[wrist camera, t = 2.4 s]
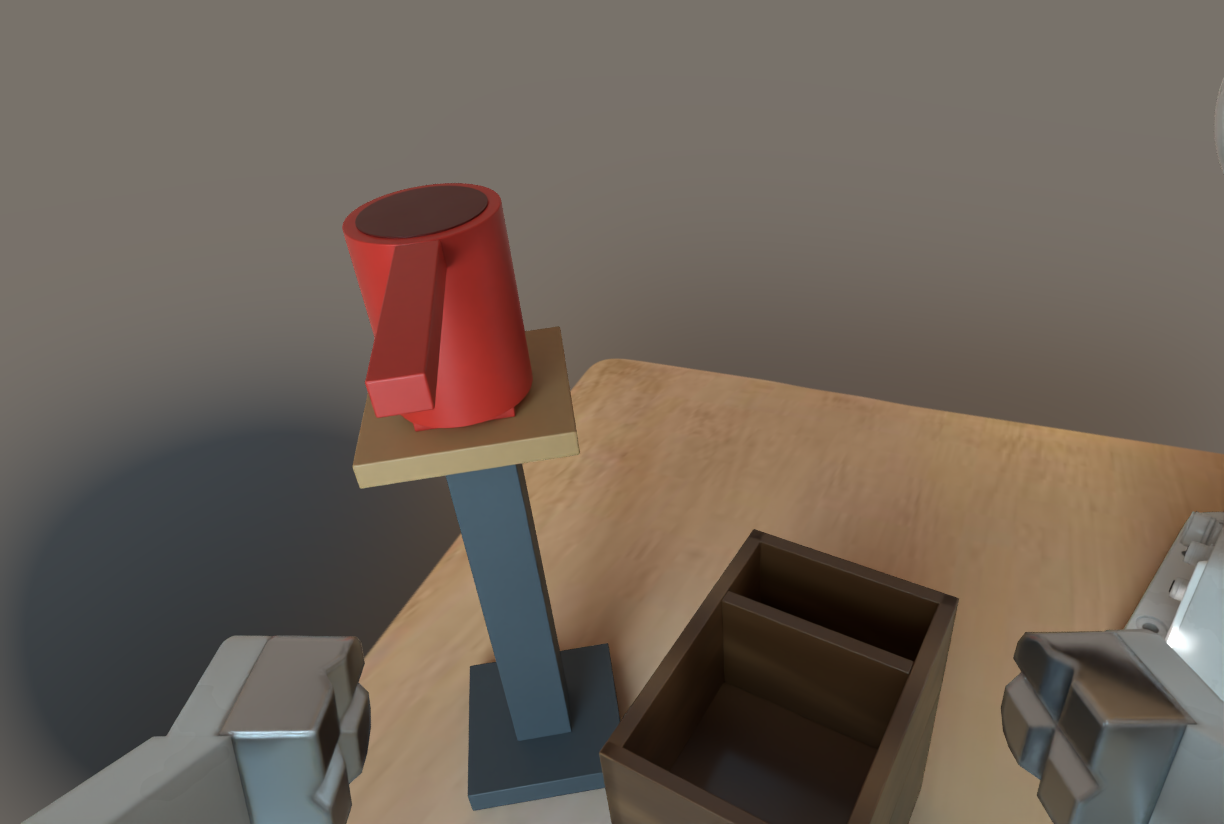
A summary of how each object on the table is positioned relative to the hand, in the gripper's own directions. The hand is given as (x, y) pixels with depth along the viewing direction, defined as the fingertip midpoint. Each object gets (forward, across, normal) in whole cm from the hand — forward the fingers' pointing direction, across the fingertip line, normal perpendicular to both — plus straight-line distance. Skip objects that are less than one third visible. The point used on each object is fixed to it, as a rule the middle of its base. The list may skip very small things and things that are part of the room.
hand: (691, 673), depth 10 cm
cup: (+21, +6, +8) cm, 23 cm away
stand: (+31, +4, +32) cm, 44 cm away
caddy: (+22, -9, +32) cm, 40 cm away
